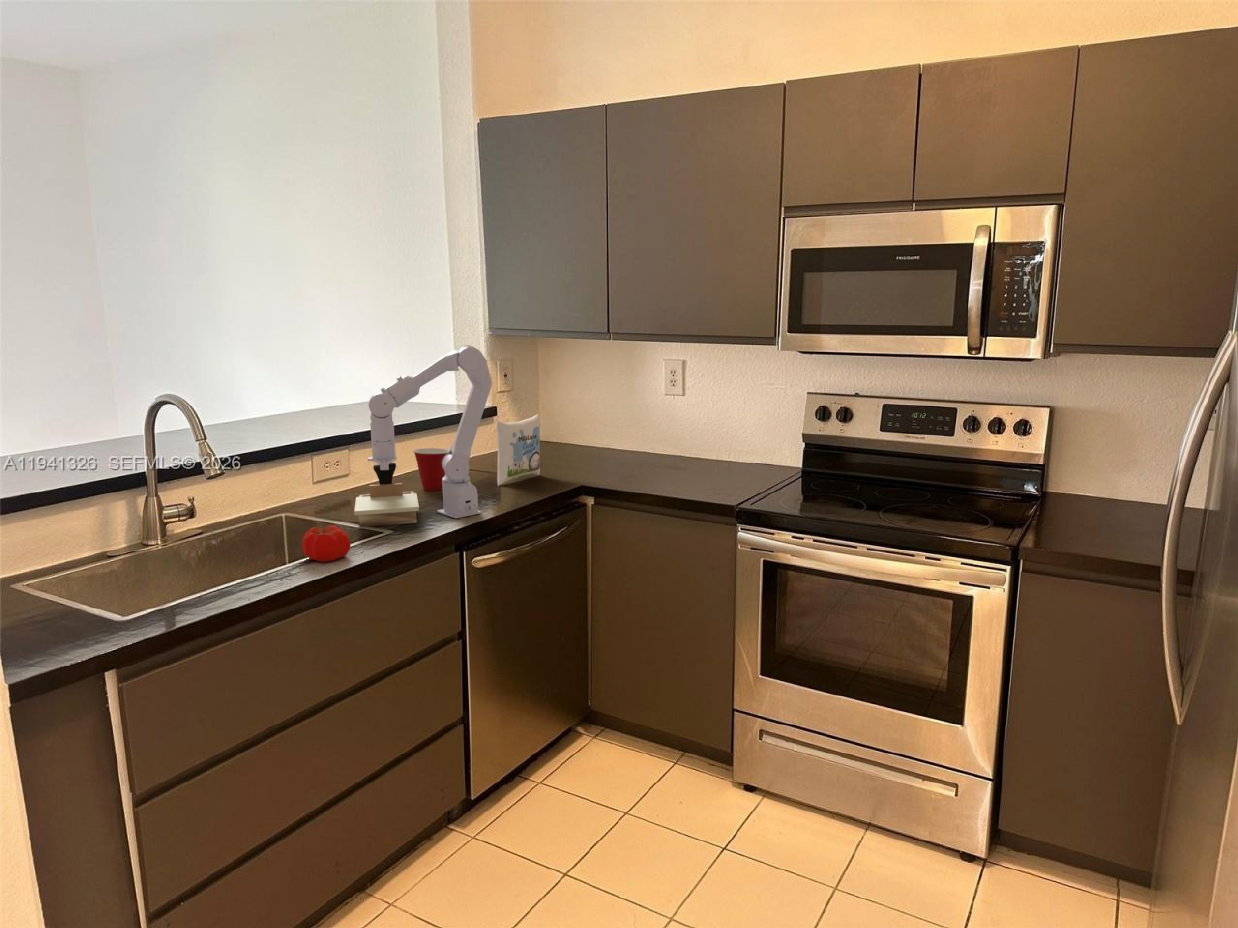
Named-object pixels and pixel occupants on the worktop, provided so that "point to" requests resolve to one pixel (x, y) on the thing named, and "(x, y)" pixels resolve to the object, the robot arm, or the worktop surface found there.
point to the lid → (386, 500)
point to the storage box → (387, 517)
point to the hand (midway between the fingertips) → (386, 492)
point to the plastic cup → (430, 467)
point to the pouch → (518, 448)
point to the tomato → (325, 543)
